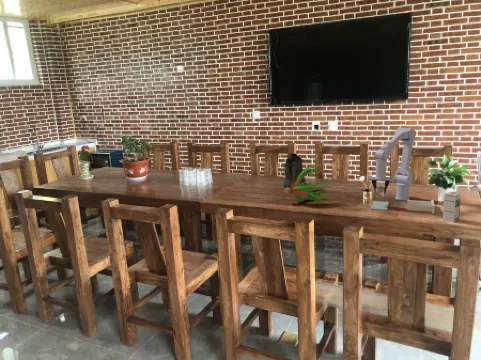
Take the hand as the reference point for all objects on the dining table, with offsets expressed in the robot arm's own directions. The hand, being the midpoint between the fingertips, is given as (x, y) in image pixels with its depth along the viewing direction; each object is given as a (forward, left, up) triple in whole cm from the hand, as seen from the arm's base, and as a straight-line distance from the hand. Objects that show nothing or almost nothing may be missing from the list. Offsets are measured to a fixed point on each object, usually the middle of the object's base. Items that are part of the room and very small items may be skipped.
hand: (380, 193), depth 230 cm
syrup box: (+16, +36, -8) cm, 40 cm away
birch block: (0, 0, -2) cm, 2 cm away
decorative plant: (+1, -43, -8) cm, 44 cm away
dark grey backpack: (-30, -60, -8) cm, 68 cm away
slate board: (0, 0, -8) cm, 8 cm away
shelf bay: (0, +22, -8) cm, 23 cm away
